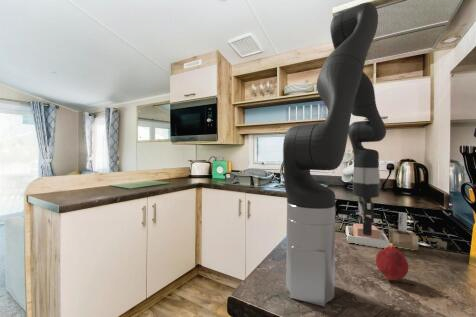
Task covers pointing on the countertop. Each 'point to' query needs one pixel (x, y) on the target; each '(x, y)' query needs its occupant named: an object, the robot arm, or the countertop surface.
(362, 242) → the tray
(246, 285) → the countertop surface
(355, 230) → the terracotta block
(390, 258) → the onion
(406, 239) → the oak block
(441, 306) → the countertop surface
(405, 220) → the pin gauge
